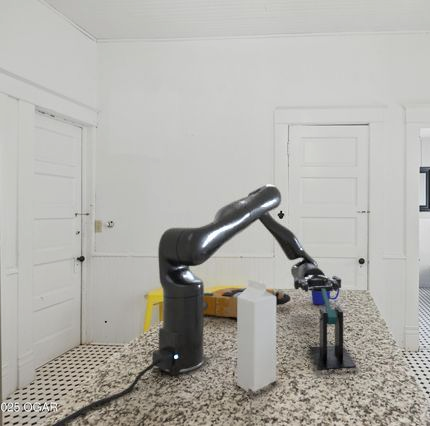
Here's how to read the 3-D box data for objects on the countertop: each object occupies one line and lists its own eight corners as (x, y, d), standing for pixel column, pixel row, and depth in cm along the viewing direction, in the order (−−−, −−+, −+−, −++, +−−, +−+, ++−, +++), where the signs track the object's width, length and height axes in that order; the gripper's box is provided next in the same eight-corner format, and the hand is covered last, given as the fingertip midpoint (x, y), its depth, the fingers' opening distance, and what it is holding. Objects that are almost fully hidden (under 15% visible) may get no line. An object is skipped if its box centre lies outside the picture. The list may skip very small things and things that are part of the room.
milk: (259, 375, 70) (259, 277, 71) (276, 385, 66) (277, 281, 66) (236, 385, 66) (237, 281, 66) (253, 397, 62) (254, 286, 62)
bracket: (309, 351, 82) (309, 303, 82) (342, 349, 84) (342, 302, 84) (318, 374, 70) (318, 318, 70) (356, 371, 72) (356, 316, 72)
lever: (312, 290, 88) (313, 284, 87) (331, 290, 89) (332, 283, 88) (320, 325, 76) (321, 317, 75) (342, 324, 77) (343, 316, 76)
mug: (340, 306, 124) (340, 281, 124) (310, 306, 124) (310, 281, 124) (338, 300, 132) (338, 277, 132) (310, 300, 132) (310, 277, 132)
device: (228, 280, 133) (293, 286, 123) (228, 300, 133) (293, 307, 123) (193, 293, 111) (268, 300, 101) (193, 316, 111) (268, 326, 101)
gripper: (290, 266, 103) (297, 275, 87) (332, 265, 105) (345, 274, 89) (290, 288, 103) (297, 302, 87) (332, 287, 105) (345, 300, 89)
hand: (321, 287), depth 88 cm, fingers open, 8 cm apart
